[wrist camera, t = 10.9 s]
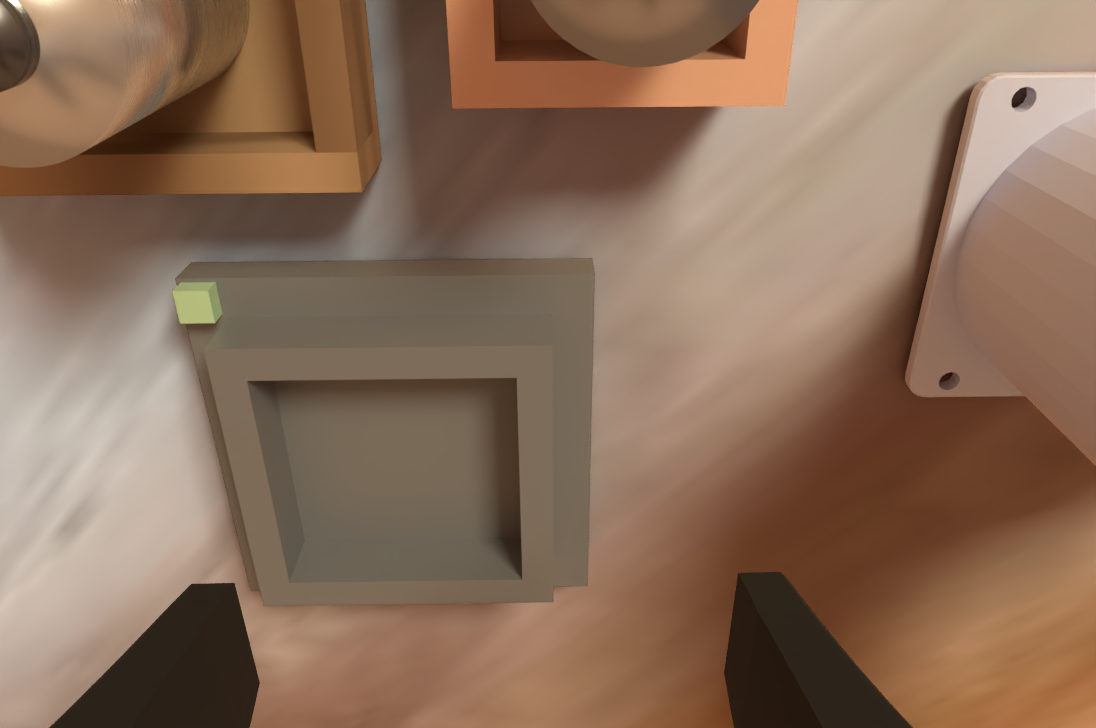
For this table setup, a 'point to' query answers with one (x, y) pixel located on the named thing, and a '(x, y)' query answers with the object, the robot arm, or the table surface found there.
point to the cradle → (400, 424)
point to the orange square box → (584, 81)
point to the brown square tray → (247, 119)
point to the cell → (103, 67)
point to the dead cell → (643, 27)
